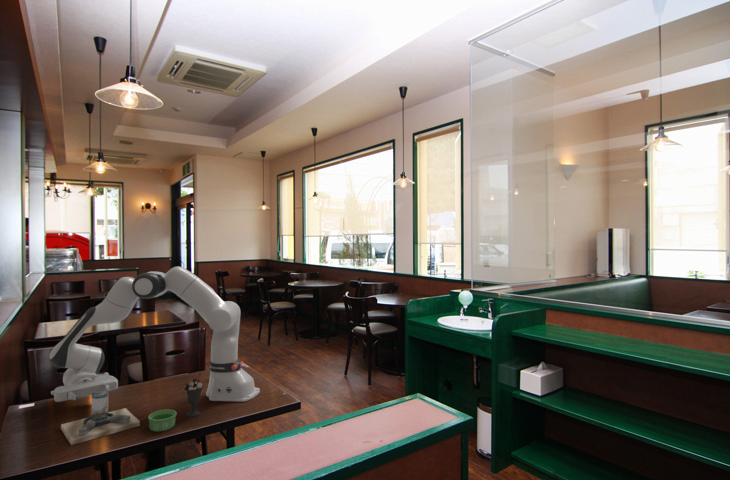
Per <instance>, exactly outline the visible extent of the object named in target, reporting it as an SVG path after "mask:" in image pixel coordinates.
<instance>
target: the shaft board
mask: <svg viewBox="0 0 730 480" xmlns="http://www.w3.org/2000/svg"><path fill="white" fill-rule="evenodd" d="M140 426H141V421H140V420H139V419H138V418H137V417H136V416H134V414H132V413H131V411H129V410H128V408H121V409H117V410H112V411H108V420H107V421H103V422H99V423H95V421H91V415H89V416H88V417H85V418H81V419H77V420H73V421H69V422H66V423H62V424H60V430H61V431H62V433H63V434H64V436H65V438H66V440H67V441H68V442H69V444H70V446H75V445H77V444H81V443H85V442H87V441H91V440H94V439H99V438H102V437H105V436H109V435H113V434H115V433H119V432H122V431H126V430H130V429H133V428H136V427H140Z"/></svg>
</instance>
